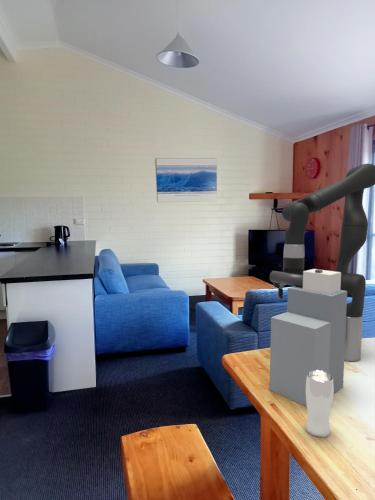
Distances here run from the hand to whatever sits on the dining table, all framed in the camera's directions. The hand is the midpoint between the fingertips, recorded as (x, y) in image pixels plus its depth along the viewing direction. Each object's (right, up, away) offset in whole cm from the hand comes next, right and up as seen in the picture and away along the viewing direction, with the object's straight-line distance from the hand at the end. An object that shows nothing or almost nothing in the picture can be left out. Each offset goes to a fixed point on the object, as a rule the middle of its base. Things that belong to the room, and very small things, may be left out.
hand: (292, 298), depth 134 cm
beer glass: (-6, -29, -41) cm, 51 cm away
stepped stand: (-1, -26, -20) cm, 33 cm away
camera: (-2, +6, -16) cm, 17 cm away
